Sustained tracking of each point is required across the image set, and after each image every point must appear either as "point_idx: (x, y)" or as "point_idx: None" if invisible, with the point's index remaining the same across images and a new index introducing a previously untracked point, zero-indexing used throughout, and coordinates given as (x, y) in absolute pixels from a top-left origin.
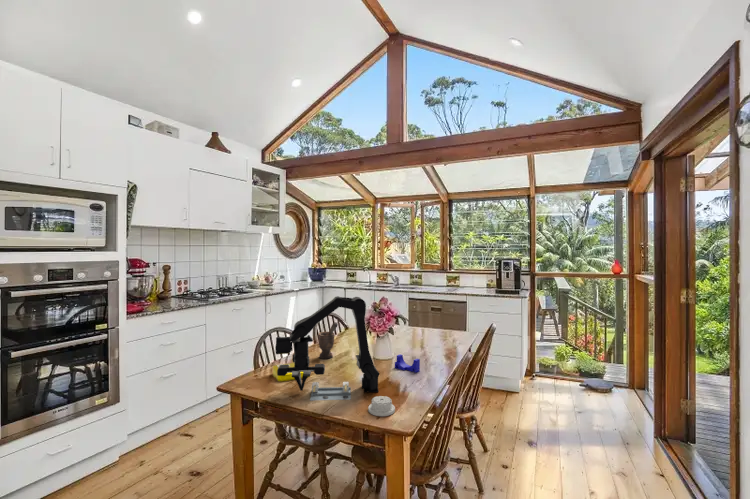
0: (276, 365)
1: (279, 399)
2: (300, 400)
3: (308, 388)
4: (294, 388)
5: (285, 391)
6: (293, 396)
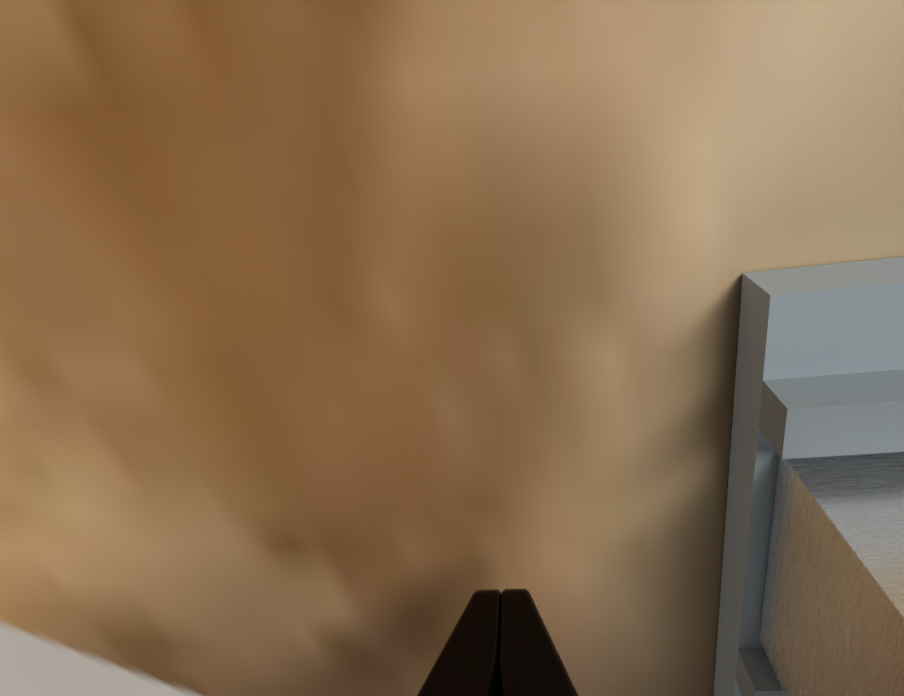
0: None
1: (166, 651)
2: None
3: (598, 88)
4: (182, 125)
5: (66, 336)
6: (353, 557)
